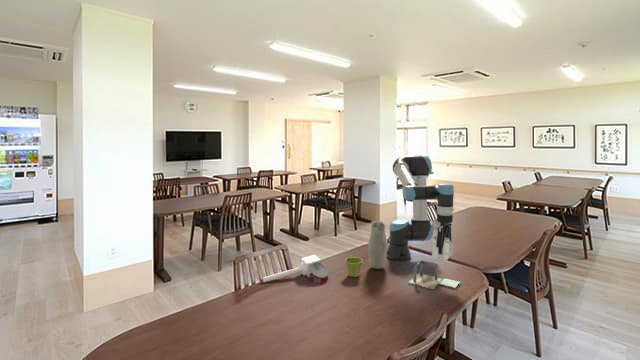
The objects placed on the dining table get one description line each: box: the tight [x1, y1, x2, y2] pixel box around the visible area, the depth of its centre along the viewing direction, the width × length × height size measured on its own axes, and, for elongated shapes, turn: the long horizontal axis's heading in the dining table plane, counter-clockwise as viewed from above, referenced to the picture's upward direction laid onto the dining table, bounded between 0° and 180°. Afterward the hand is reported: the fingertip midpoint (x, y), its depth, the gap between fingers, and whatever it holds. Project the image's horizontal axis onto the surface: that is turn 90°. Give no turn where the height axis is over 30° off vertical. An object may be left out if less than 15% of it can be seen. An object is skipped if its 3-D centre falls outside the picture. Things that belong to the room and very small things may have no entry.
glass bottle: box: [368, 220, 388, 270], centre depth 195 cm, size 10×10×28 cm
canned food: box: [309, 261, 329, 284], centre depth 182 cm, size 11×10×10 cm
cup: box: [431, 235, 454, 261], centre depth 172 cm, size 8×12×10 cm
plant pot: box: [345, 256, 363, 278], centre depth 186 cm, size 9×9×9 cm
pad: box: [439, 278, 461, 289], centre depth 173 cm, size 8×8×1 cm
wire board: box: [407, 272, 443, 290], centre depth 177 cm, size 13×14×1 cm
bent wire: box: [412, 260, 439, 282], centre depth 176 cm, size 9×10×8 cm
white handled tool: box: [262, 254, 322, 284], centre depth 184 cm, size 9×9×32 cm
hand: (443, 257), depth 174 cm, fingers closed on cup, 8 cm apart
